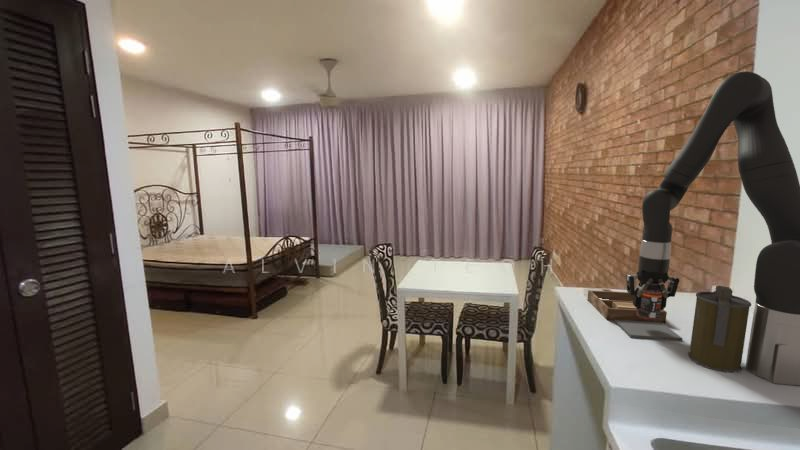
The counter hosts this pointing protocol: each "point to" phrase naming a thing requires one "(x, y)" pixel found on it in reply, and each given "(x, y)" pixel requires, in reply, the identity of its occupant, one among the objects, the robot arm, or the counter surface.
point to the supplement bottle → (650, 303)
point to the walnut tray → (616, 313)
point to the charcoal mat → (647, 330)
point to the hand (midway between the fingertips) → (648, 308)
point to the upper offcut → (623, 305)
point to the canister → (719, 330)
